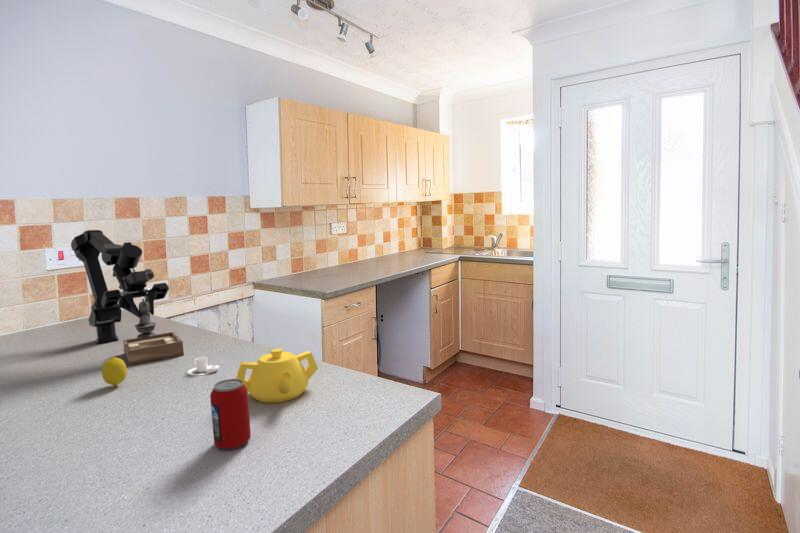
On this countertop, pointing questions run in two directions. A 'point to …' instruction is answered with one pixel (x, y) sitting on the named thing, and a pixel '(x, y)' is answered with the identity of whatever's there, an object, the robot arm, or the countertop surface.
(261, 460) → the countertop surface
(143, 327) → the grey stone tall piece
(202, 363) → the teacup and saucer
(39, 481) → the countertop surface
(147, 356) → the walnut box
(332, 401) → the countertop surface
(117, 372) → the lemon
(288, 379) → the teapot
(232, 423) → the beverage can
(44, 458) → the countertop surface
